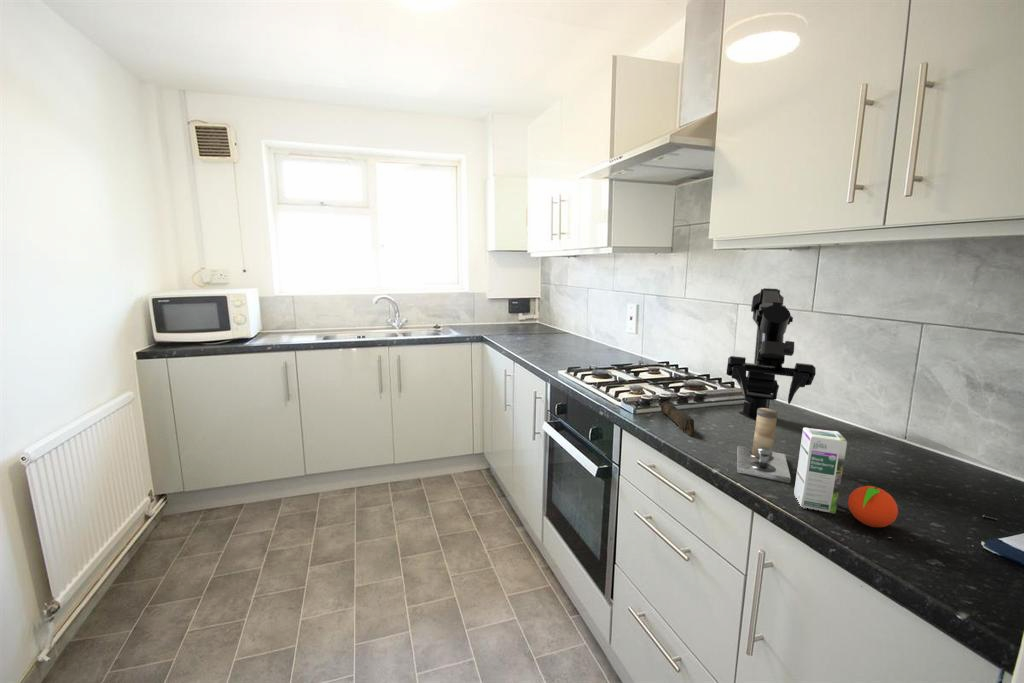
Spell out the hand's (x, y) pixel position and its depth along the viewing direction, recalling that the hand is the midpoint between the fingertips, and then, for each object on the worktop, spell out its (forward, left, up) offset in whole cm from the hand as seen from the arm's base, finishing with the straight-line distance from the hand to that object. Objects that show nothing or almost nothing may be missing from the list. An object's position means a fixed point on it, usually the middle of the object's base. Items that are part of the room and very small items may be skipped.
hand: (767, 399), depth 107 cm
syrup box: (+9, +22, -14) cm, 27 cm away
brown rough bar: (+7, -22, -14) cm, 26 cm away
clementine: (+6, +30, -14) cm, 33 cm away
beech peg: (+4, +4, -12) cm, 13 cm away
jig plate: (+6, +6, -13) cm, 16 cm away
